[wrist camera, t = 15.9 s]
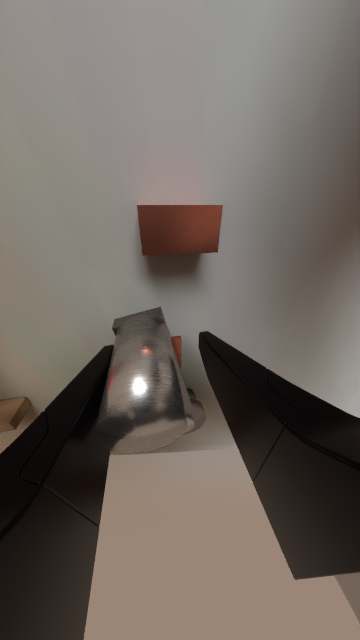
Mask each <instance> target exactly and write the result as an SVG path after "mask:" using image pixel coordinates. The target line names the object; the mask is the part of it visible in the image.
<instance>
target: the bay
mask: <svg viewBox="0 0 360 640" xmlns="http://www.w3.org/2000/svg"><path fill="white" fill-rule="evenodd" d="M30 404H31V403H30V402H29V401H28V400H27V398H26V397H23V398H15V399H8V400H1V401H0V432H4V431H10V430H16V428H17V427H18V425H19V423H20V421H21V420H22V418H23V416H24V414H25V413H26V411H27V409H28V408H29V406H30Z"/></svg>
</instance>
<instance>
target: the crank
mask: <svg viewBox="0 0 360 640" xmlns="http://www.w3.org/2000/svg"><path fill="white" fill-rule="evenodd" d="M112 329H113V331H114V333H115V335H116V339H115V343H114V348H113V352H112V357H111V361H110V366H109V370H108V375H107V379H106V384H105V388H104V393H103V397H102V402H101V406H100V410H99V415H98V419H97V424H96V428H95V433H94V436H95V440H96V441H97V443H98V444H99V445H101V446H102V447H104V448H106V449H108V450H111V451H114V452H120V453H141V452H148V451H152V450H156V449H159V448H162V447H165V446H167V445H169V444H171V443H173V442H174V441H176V440H177V439H179V438H180V437H181V436H182V435H185V434H188V433H191V432H193V431H195V430H197V429H198V428H200V427H201V426H202V425H203V424H204V422H205V420H206V416H205V412H204V409H203V406H202V404H201V403H200V402H199V401H197V400H195V399H191V398H190V397H189V393H188V390H187V387H186V384H185V381H184V378H183V375H182V372H181V368H180V365H179V362H178V359H177V356H176V353H175V350H174V347H173V344H172V340H171V337H170V332H169V329H168V327H167V325H166V322H165V319H164V315H163V312H162V309H161V307H158V308H154V309H151V310H147V311H143V312H140V313H136V314H132V315H129V316H125V317H121V318H118V319H114V323H113V327H112Z"/></svg>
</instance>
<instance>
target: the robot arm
mask: <svg viewBox="0 0 360 640" xmlns="http://www.w3.org/2000/svg"><path fill="white" fill-rule="evenodd" d="M113 348H114V345H109V346H104V347H103V348H102V349H101V350H100V352H99V353H98V354H97V355H96V356H95V357H94V358H93V359H92V360H91V361H90V362H89V363H88V364H87V365H86V366H85V367H84V368H83V370H82V371H81V372H80V373H79V374H78V375H77V376H76V377H75V378H74V379H73V380H72V381H71V382H70V383H69V384H68V385H67V386H66V388H65V389H64V390H63V391H62V392H61V393H60V394H59V395H58V396H57V397H56V398H55V399H54V400H53V401H52V402H51V403H50V404H49V406H48V407H47V408H46V409H45V412H44V411H43V412H42V413H41V414H40V415H39V416H38V417H37V418H36V419H35V420H34V421H33V422H32V423H31V424H30V425H29V426H28V427H27V428H26V429H25V431H24V432H23V433H22V434H21V435H20V436H19V437H18V438H17V439H16V440H15V441H14V442H12V443H11V444H10V445H9V446H8V447H7V448H6V449H5V450H4V451H3V452H2V453H1V454H0V640H83V639H84V632H85V625H86V618H87V611H88V604H89V597H90V590H91V583H92V576H93V568H94V561H95V554H96V547H97V540H98V533H99V525H100V519H101V511H102V504H103V497H104V491H105V484H106V477H107V470H108V463H109V456H110V450H108V449H106V448H104V447H102V446H101V445H99V444H98V443H97V441H96V440H95V436H94V433H95V428H96V424H97V419H98V415H99V410H100V406H101V402H102V397H103V393H104V388H105V384H106V379H107V375H108V370H109V366H110V361H111V357H112V352H113ZM199 350H200V354H201V357H202V360H203V364H204V367H205V371H206V374H207V377H208V379H209V382H210V384H211V386H212V389H213V391H214V393H215V396H216V398H217V400H218V403H219V405H220V407H221V410H222V412H223V414H224V417H225V419H226V421H227V424H228V426H229V428H230V431H231V433H232V435H233V438H234V440H235V442H236V445H237V447H238V449H239V451H240V454H241V456H242V458H243V461H244V463H245V465H246V468H247V470H248V472H249V475H250V477H251V479H252V481H253V484H254V486H255V489H256V491H257V494H258V496H259V498H260V501H261V503H262V505H263V507H264V509H265V512H266V514H267V517H268V519H269V521H270V524H271V526H272V528H273V531H274V533H275V535H276V538H277V540H278V542H279V544H280V547H281V549H282V552H283V554H284V556H285V559H286V561H287V563H288V566H289V568H290V570H291V572H292V575H293V577H294V579H295V580H298V579H306V578H316V577H323V576H333V575H334V576H335V578H336V579H337V581H338V583H339V585H340V587H341V589H342V591H343V593H344V594H345V596H346V598H347V600H348V602H349V604H350V606H351V608H352V610H353V611H354V613H355V615H356V616H357V619H358V621H359V623H360V418H358V417H355V416H353V415H351V414H349V413H347V412H345V411H343V410H341V409H339V408H337V407H335V406H333V405H331V404H329V403H327V402H326V401H324V400H322V399H320V398H318V397H316V396H314V395H312V394H311V393H309V392H307V391H305V390H303V389H301V388H299V387H298V386H296V385H294V384H292V383H290V382H289V381H287V380H285V379H284V378H282V377H280V376H279V375H277V374H275V373H274V372H272V371H270V370H269V369H266V367H264V366H262V365H261V364H259V363H258V362H256V361H254V360H253V359H251V358H250V357H248V356H246V355H245V354H243V353H242V352H240V351H238V350H237V349H235V348H234V347H232V346H230V345H229V344H227V343H226V342H224V341H223V340H221V339H219V338H218V337H216V336H215V335H213V334H211V333H210V332H208V331H204V332H200V333H199Z"/></svg>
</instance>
